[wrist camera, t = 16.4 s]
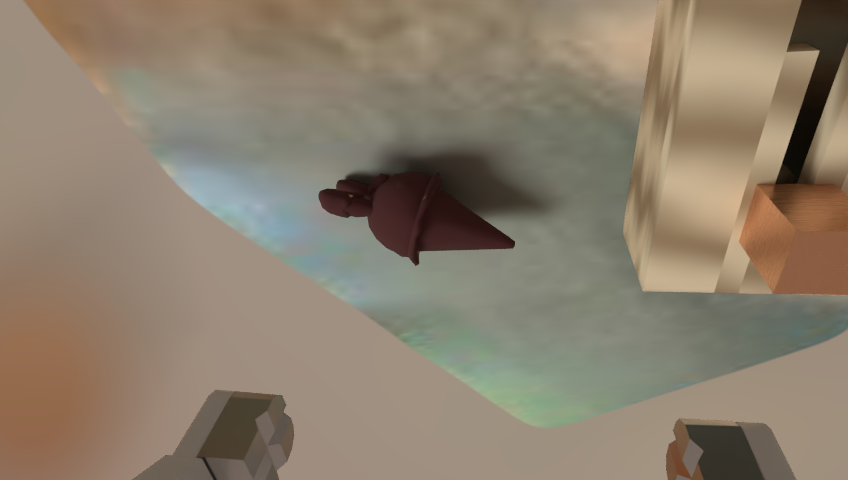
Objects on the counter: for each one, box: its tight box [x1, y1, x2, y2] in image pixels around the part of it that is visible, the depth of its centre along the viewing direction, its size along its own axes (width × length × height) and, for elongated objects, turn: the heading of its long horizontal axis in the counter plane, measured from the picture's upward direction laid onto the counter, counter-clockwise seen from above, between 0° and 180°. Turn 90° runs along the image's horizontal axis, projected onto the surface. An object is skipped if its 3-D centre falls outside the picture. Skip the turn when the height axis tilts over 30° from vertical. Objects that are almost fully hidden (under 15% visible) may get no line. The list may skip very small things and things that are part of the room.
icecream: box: [319, 172, 515, 266], centre depth 39 cm, size 7×7×15 cm
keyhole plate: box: [623, 0, 848, 295], centre depth 30 cm, size 24×14×8 cm, turn 5°
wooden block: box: [739, 163, 848, 295], centre depth 29 cm, size 4×4×9 cm
